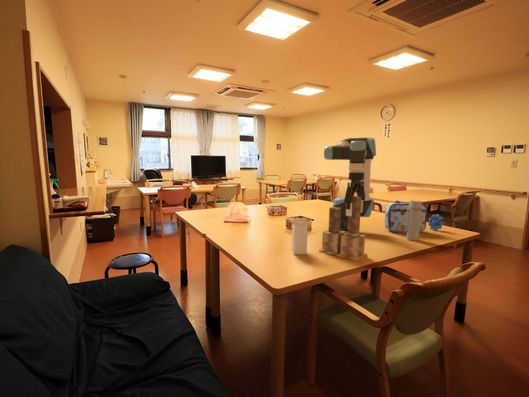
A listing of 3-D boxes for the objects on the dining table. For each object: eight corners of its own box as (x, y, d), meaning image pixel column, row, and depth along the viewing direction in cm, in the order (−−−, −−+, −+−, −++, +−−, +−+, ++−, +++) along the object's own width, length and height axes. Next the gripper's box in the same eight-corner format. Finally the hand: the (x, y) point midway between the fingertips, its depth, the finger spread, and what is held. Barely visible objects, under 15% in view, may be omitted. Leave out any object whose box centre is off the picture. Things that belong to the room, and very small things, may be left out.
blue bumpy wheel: (446, 231, 201) (448, 215, 199) (440, 232, 198) (442, 215, 196) (431, 228, 211) (433, 212, 210) (425, 228, 209) (426, 212, 207)
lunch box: (386, 233, 196) (388, 201, 193) (381, 229, 206) (383, 199, 203) (427, 233, 195) (430, 202, 192) (419, 230, 206) (422, 199, 203)
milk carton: (291, 250, 158) (292, 216, 155) (304, 250, 159) (304, 216, 156) (293, 254, 151) (294, 219, 148) (306, 254, 152) (308, 219, 149)
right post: (346, 240, 149) (348, 196, 145) (350, 238, 152) (352, 195, 149) (355, 242, 145) (357, 197, 142) (359, 240, 149) (361, 196, 146)
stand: (319, 251, 157) (319, 231, 155) (330, 246, 166) (330, 228, 164) (356, 261, 142) (358, 240, 140) (366, 255, 151) (368, 235, 149)
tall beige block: (418, 238, 183) (421, 200, 180) (420, 241, 176) (423, 202, 172) (402, 237, 186) (405, 199, 183) (403, 240, 179) (407, 201, 175)
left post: (327, 248, 157) (328, 207, 154) (331, 246, 161) (333, 206, 157) (335, 250, 154) (337, 209, 151) (339, 248, 157) (341, 207, 154)
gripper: (352, 173, 133) (350, 218, 136) (373, 171, 150) (370, 211, 153) (338, 172, 138) (336, 216, 141) (359, 170, 155) (357, 209, 158)
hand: (354, 213), depth 147 cm, fingers open, 12 cm apart
